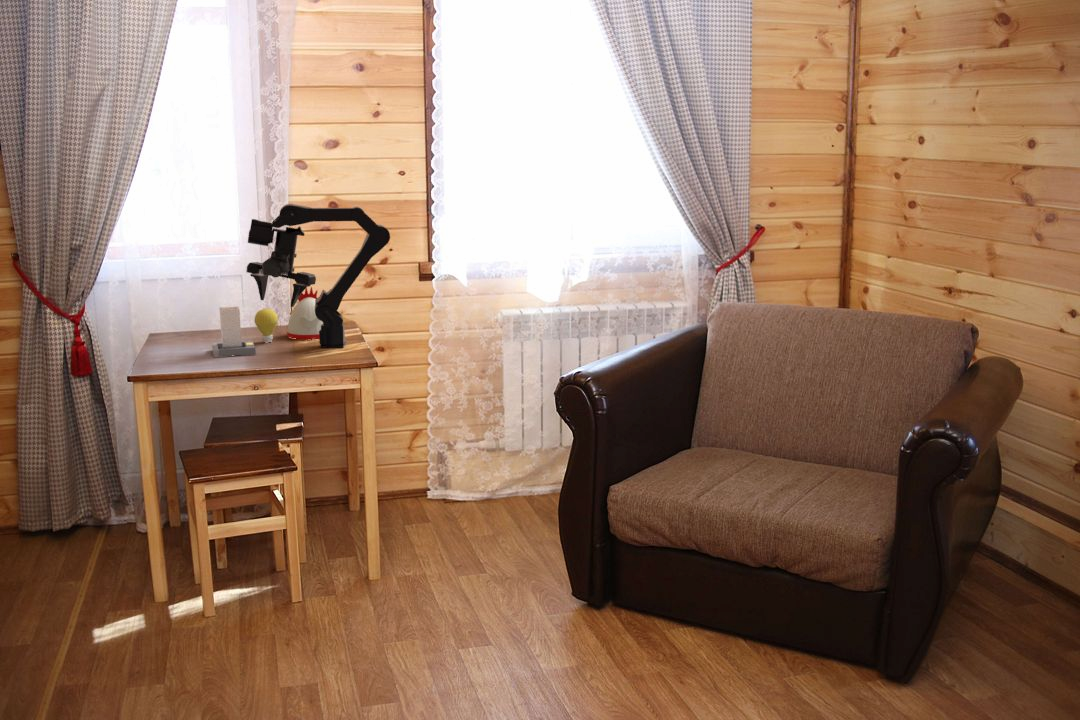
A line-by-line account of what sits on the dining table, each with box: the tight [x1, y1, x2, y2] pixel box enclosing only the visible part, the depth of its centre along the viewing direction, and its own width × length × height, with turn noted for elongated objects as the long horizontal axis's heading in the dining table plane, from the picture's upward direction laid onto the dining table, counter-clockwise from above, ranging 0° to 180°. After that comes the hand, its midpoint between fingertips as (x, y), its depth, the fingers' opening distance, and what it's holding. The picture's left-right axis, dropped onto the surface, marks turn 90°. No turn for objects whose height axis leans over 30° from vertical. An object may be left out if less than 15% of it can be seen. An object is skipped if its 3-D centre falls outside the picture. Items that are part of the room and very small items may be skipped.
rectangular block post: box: [218, 306, 242, 349], centre depth 296 cm, size 5×5×12 cm
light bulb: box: [254, 308, 279, 343], centre depth 310 cm, size 7×7×10 cm
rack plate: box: [211, 340, 256, 358], centre depth 297 cm, size 11×10×2 cm
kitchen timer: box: [286, 286, 323, 341], centre depth 320 cm, size 14×14×15 cm
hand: (277, 303), depth 300 cm, fingers open, 9 cm apart
